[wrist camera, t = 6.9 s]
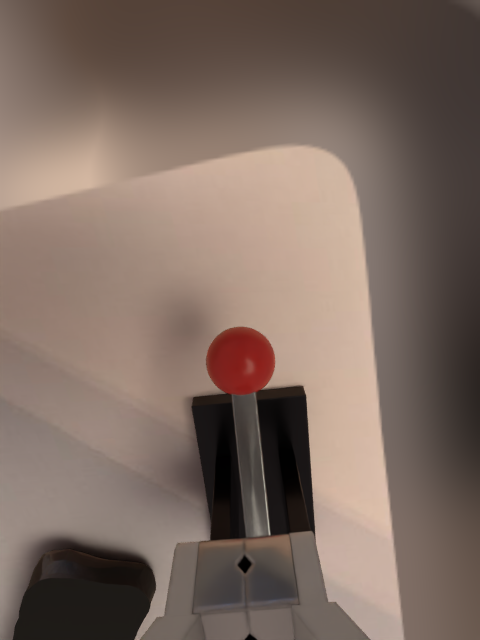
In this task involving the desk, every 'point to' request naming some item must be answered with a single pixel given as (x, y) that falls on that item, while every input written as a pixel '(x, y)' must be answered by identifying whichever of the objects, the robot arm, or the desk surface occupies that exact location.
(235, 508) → the bracket
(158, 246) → the desk surface
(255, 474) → the lever
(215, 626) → the robot arm
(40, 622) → the black sponge
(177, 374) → the desk surface
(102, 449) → the desk surface
